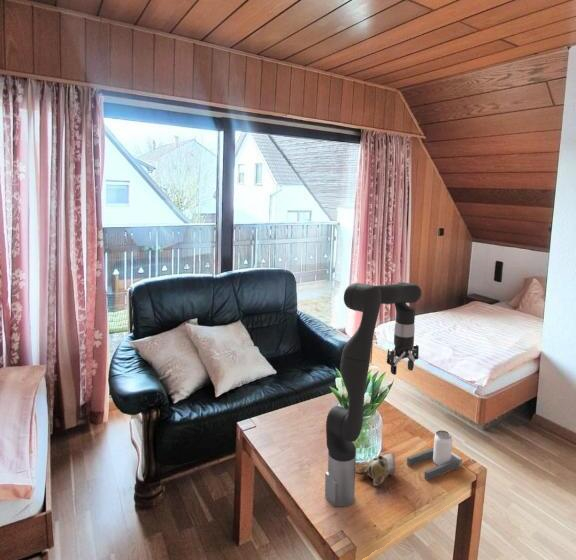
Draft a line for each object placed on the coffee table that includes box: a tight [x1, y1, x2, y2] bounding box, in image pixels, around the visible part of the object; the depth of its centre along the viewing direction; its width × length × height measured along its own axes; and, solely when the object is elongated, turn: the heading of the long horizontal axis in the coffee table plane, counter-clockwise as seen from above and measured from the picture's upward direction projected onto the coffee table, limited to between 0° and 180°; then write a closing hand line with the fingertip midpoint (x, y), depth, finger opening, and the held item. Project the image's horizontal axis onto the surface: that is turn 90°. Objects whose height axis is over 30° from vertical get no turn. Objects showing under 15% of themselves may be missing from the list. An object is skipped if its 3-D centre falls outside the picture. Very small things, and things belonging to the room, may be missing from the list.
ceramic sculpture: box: [355, 452, 396, 488], centre depth 159 cm, size 11×9×15 cm
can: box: [432, 430, 453, 466], centre depth 167 cm, size 6×6×12 cm
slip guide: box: [406, 447, 463, 481], centre depth 166 cm, size 18×10×3 cm, turn 118°
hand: (402, 371), depth 171 cm, fingers open, 8 cm apart
